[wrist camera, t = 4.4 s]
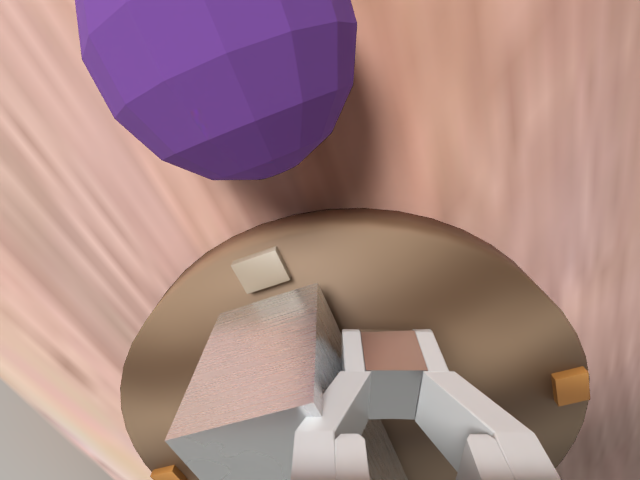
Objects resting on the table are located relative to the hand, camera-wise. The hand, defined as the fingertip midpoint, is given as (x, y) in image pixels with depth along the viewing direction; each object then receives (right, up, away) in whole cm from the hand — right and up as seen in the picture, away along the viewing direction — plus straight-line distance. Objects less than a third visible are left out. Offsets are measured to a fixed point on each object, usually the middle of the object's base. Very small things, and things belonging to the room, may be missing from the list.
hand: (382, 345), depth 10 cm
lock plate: (-1, -5, +7) cm, 8 cm away
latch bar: (-1, -6, +4) cm, 7 cm away
